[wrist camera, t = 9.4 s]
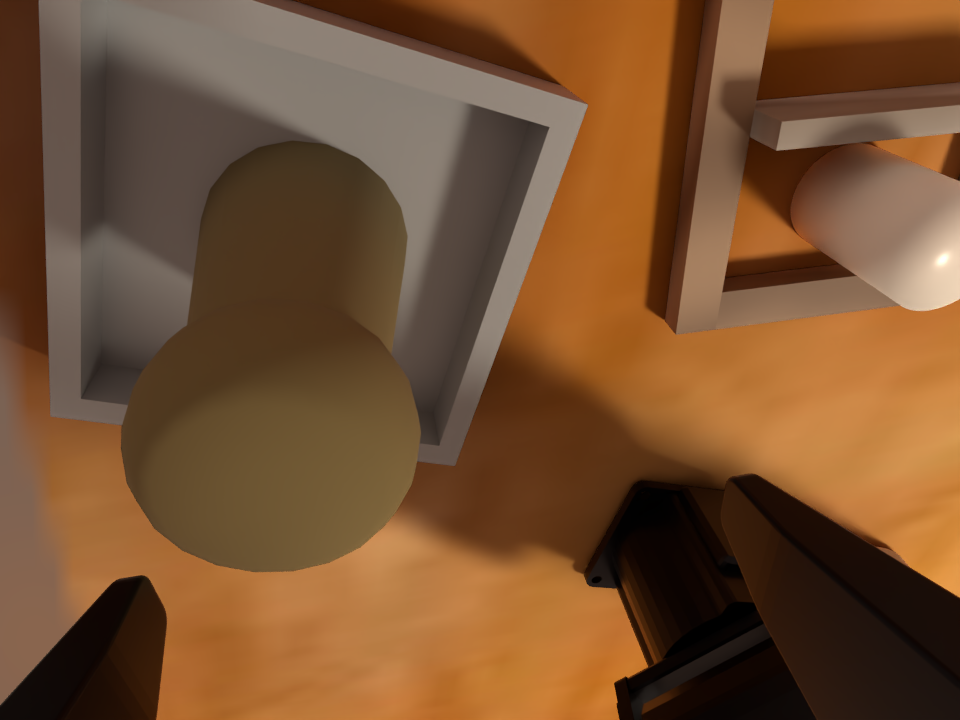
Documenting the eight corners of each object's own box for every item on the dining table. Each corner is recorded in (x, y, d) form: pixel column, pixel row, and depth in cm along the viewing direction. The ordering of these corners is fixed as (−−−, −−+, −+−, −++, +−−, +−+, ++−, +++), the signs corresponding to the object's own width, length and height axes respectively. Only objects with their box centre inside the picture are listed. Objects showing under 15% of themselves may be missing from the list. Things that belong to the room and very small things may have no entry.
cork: (191, 308, 20) (62, 612, 11) (212, 113, 17) (62, 311, 8) (382, 344, 22) (403, 630, 13) (430, 172, 19) (500, 388, 10)
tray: (446, 422, 25) (455, 465, 23) (79, 370, 22) (50, 416, 20) (562, 85, 19) (588, 104, 17) (79, -68, 15) (36, -67, 13)
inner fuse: (873, 238, 24) (982, 303, 20) (780, 249, 23) (872, 317, 19) (904, 138, 22) (1033, 186, 18) (803, 148, 22) (911, 199, 17)
